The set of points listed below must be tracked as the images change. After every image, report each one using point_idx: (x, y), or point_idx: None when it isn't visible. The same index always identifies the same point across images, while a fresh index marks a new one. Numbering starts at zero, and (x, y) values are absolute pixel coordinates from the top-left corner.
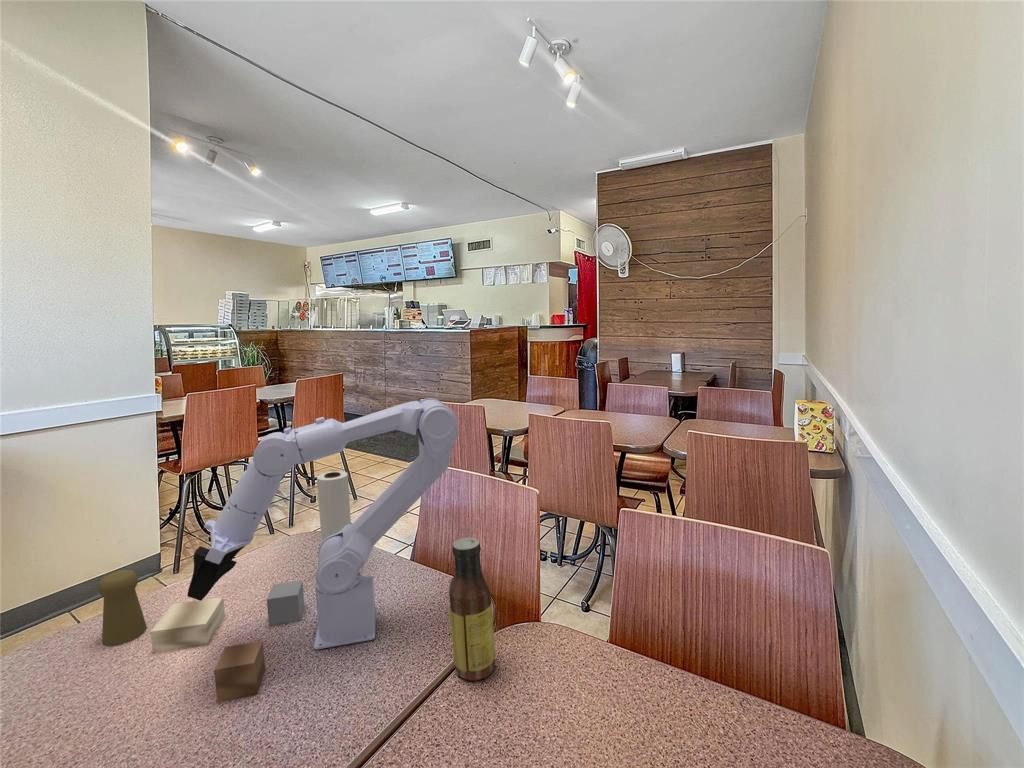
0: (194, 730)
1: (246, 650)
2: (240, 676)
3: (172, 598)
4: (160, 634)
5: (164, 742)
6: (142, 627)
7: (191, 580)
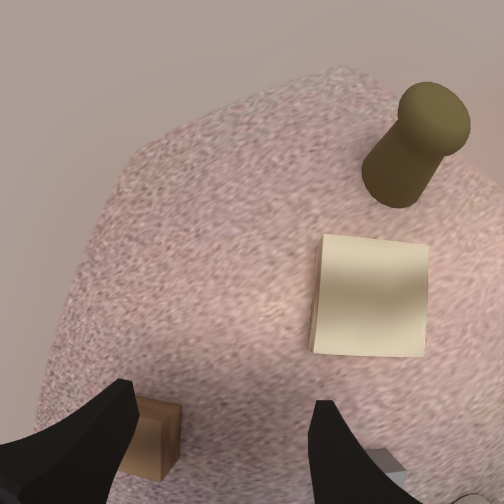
0: (83, 367)
1: (137, 456)
2: None
3: (487, 222)
4: (320, 255)
5: (76, 333)
6: (395, 201)
7: (78, 409)
